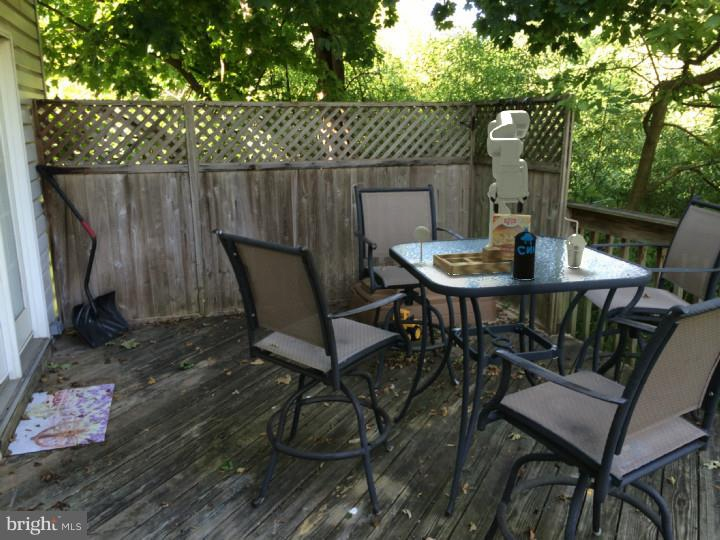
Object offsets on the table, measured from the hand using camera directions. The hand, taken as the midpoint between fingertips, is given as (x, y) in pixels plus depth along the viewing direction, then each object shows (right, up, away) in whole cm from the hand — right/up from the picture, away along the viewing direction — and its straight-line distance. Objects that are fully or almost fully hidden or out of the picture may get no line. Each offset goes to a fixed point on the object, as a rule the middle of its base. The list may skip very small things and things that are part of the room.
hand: (507, 213), depth 235 cm
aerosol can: (+2, -26, -14) cm, 30 cm away
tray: (-14, -22, +4) cm, 27 cm away
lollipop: (-33, -19, +20) cm, 43 cm away
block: (-6, -20, +1) cm, 21 cm away
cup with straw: (+27, -22, +2) cm, 35 cm away
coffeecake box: (+6, -19, +19) cm, 27 cm away
